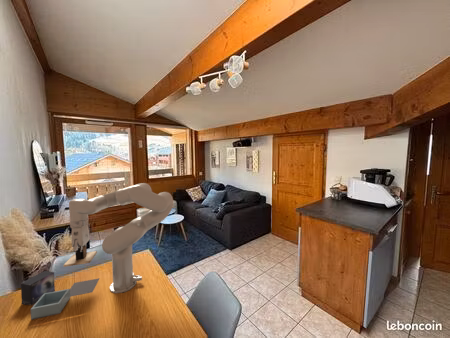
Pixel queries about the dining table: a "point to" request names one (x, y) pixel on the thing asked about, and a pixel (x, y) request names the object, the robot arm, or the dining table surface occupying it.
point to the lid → (86, 259)
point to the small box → (37, 287)
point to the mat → (83, 287)
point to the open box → (50, 304)
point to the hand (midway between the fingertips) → (81, 256)
